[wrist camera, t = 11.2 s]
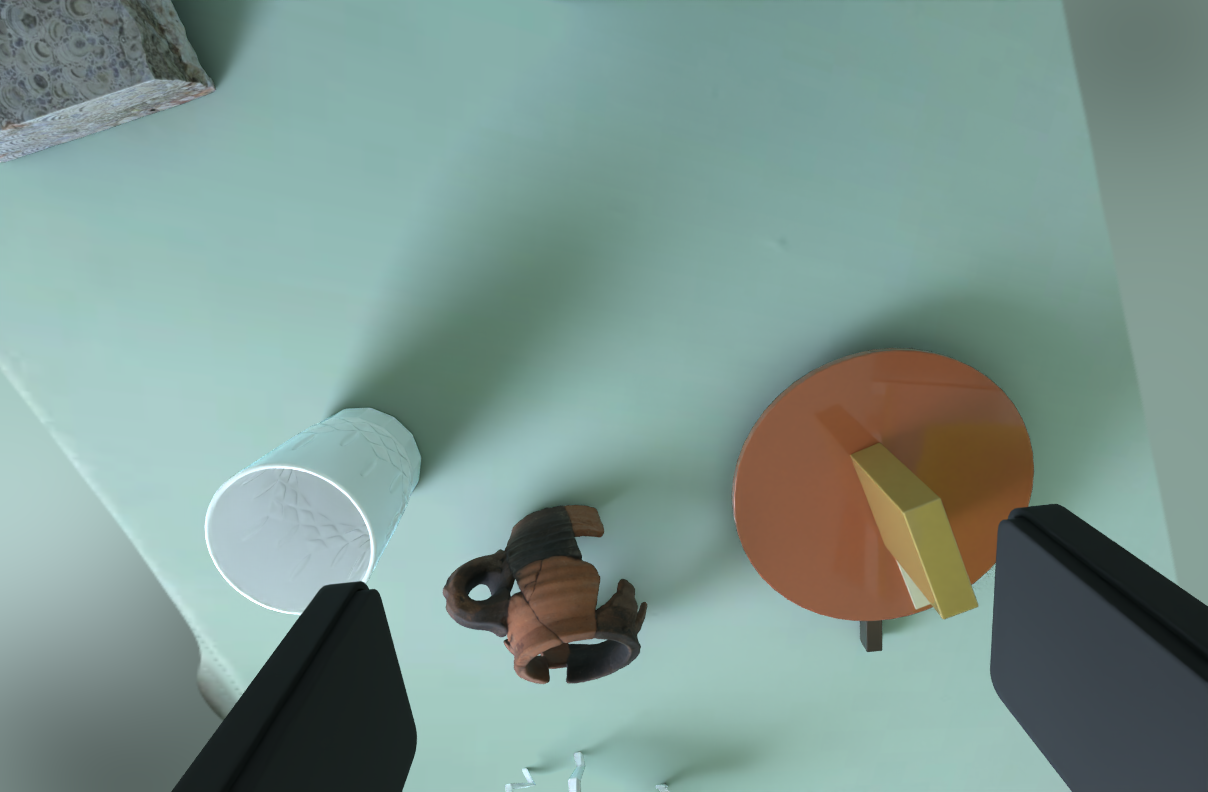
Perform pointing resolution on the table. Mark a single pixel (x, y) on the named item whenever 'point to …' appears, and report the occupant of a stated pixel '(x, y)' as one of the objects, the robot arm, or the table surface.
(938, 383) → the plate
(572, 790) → the origami figure
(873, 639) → the dark grey rectangular block
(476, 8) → the table surface
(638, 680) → the table surface
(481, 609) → the pottery mug
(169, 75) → the geological specimen
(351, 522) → the white cup
